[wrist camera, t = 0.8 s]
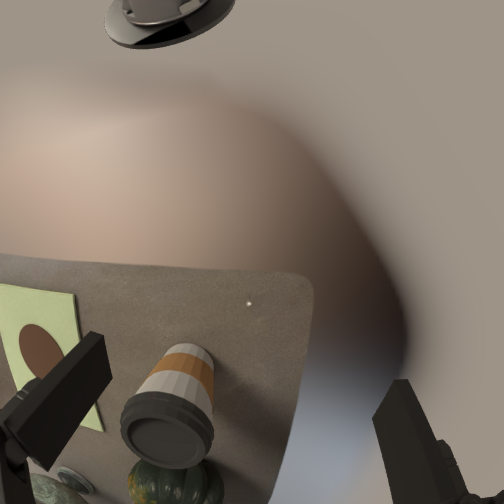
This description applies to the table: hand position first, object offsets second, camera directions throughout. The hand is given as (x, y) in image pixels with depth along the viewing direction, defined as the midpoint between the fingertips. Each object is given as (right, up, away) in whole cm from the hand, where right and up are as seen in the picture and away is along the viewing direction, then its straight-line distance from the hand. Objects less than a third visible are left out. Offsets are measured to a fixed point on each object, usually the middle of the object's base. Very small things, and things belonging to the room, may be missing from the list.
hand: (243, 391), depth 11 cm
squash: (-11, -30, +24) cm, 40 cm away
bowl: (-41, -47, +24) cm, 67 cm away
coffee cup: (-8, -8, +22) cm, 24 cm away
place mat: (-34, -11, +21) cm, 41 cm away
